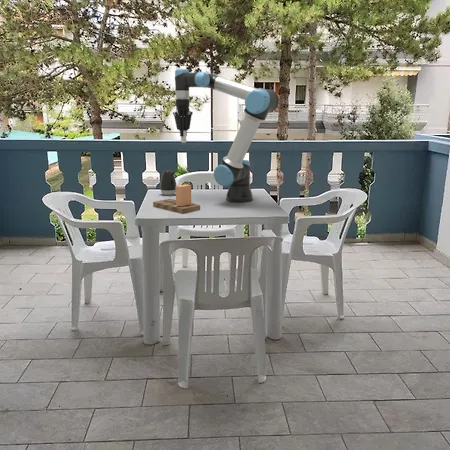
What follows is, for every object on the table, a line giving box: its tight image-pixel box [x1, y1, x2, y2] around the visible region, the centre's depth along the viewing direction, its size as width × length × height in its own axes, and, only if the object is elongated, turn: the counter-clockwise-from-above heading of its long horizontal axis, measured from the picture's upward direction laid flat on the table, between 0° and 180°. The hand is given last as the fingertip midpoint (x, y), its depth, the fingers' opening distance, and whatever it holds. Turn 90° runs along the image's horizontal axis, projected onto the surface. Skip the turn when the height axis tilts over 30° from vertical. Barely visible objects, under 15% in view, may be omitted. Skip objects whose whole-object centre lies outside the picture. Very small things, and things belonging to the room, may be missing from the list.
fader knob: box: [175, 184, 192, 206], centre depth 229 cm, size 4×7×10 cm, turn 137°
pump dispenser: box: [159, 169, 178, 197], centre depth 268 cm, size 10×10×15 cm
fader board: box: [152, 198, 201, 215], centre depth 235 cm, size 24×12×3 cm, turn 47°
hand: (183, 142), depth 250 cm, fingers closed
